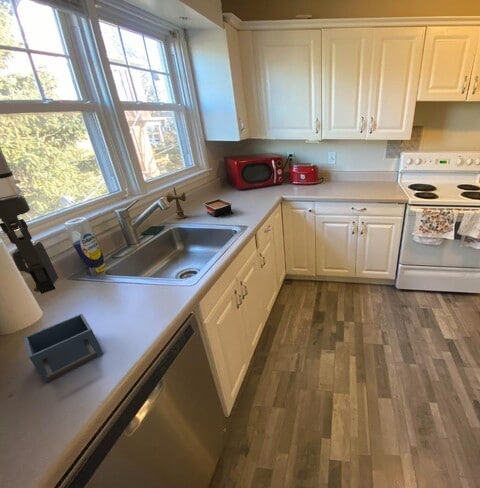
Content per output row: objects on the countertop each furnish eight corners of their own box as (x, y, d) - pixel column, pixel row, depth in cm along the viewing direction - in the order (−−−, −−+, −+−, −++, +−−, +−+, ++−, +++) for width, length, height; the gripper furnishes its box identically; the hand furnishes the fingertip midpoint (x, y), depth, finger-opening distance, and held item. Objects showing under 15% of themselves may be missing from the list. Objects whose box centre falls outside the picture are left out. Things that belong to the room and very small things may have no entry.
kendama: (174, 217, 176) (166, 185, 167) (190, 216, 178) (183, 185, 169) (171, 220, 171) (163, 188, 162) (188, 219, 172) (180, 187, 164)
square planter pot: (214, 222, 173) (213, 207, 168) (202, 211, 183) (201, 197, 178) (235, 218, 182) (235, 204, 177) (223, 208, 192) (223, 194, 188)
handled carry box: (39, 362, 75) (23, 337, 71) (93, 337, 83) (81, 313, 79) (52, 404, 64) (34, 377, 60) (113, 370, 72) (101, 344, 68)
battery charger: (41, 280, 73) (20, 241, 68) (59, 277, 75) (40, 238, 70) (29, 295, 67) (5, 253, 63) (49, 291, 69) (27, 249, 64)
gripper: (30, 201, 58) (74, 293, 68) (16, 187, 69) (55, 266, 79) (-24, 211, 53) (32, 308, 63) (-30, 193, 64) (18, 278, 74)
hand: (44, 285), depth 71 cm, fingers closed on battery charger, 7 cm apart
